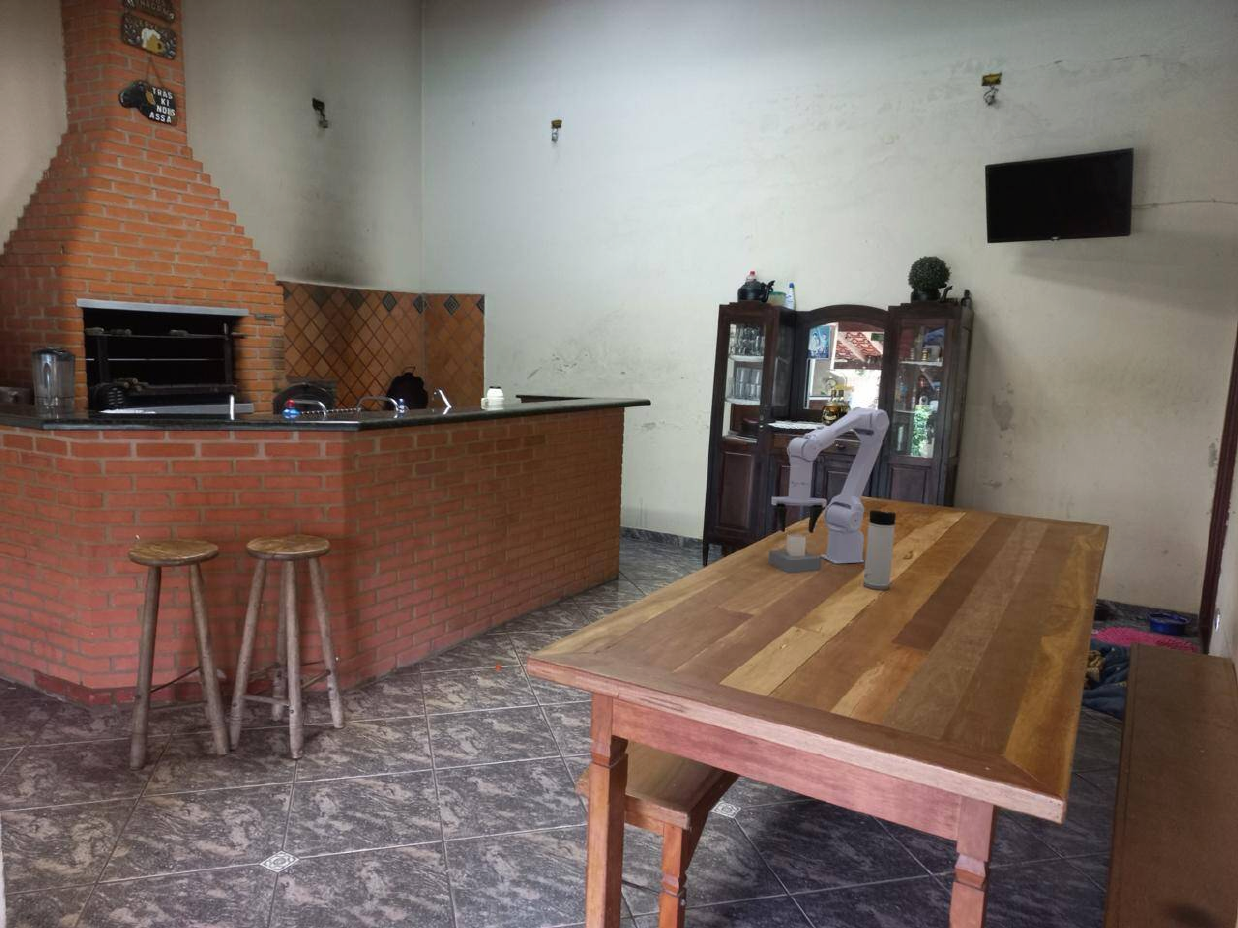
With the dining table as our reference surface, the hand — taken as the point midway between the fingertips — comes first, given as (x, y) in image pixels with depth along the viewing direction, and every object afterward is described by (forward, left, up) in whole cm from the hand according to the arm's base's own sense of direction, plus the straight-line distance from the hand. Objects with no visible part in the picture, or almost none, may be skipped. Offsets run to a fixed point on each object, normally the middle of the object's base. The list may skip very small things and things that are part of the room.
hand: (796, 531), depth 211 cm
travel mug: (-12, +20, -10) cm, 26 cm away
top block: (0, 0, -6) cm, 6 cm away
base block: (0, 0, -10) cm, 10 cm away
